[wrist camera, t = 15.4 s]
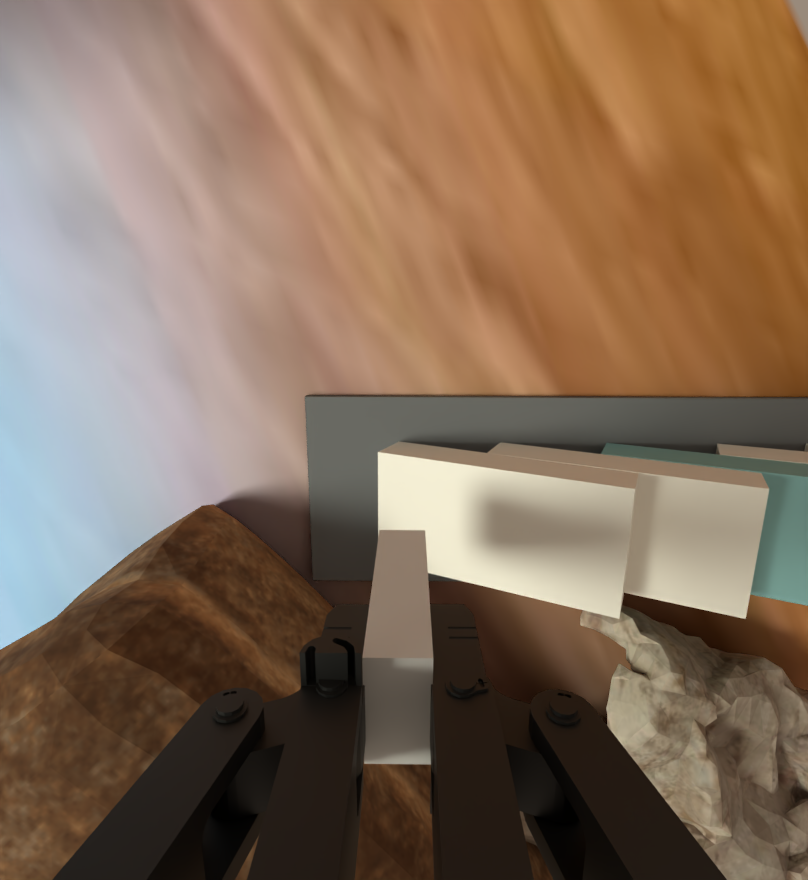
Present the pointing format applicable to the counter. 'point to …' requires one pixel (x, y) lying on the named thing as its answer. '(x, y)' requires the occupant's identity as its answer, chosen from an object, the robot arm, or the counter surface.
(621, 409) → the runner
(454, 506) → the domino
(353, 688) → the robot arm
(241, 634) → the bread
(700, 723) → the rock
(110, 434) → the counter surface
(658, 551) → the domino
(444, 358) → the counter surface
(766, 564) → the teal domino
